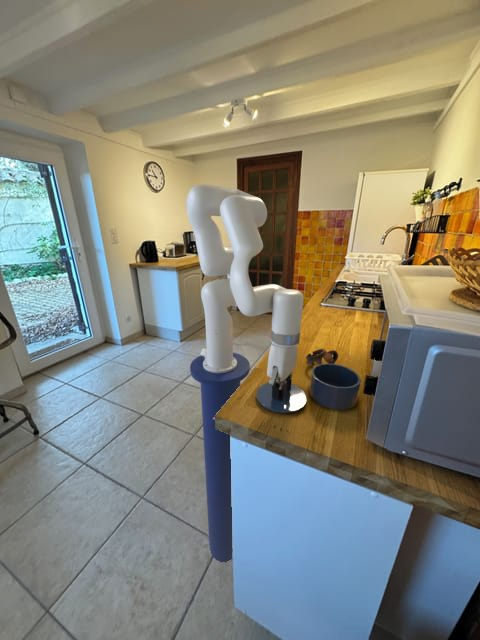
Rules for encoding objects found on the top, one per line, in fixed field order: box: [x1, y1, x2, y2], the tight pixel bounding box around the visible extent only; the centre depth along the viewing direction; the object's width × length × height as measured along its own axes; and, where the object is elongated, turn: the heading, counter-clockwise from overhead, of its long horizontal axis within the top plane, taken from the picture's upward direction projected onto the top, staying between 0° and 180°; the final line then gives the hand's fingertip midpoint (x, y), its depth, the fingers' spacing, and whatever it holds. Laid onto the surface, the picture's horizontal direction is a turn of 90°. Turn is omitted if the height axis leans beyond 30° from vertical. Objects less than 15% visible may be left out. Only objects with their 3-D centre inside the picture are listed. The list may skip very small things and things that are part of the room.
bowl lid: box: [256, 380, 307, 414], centre depth 73 cm, size 14×14×6 cm
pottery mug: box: [305, 348, 339, 367], centre depth 90 cm, size 12×9×8 cm
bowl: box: [309, 362, 362, 411], centre depth 74 cm, size 13×13×7 cm
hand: (281, 393), depth 73 cm, fingers open, 4 cm apart
